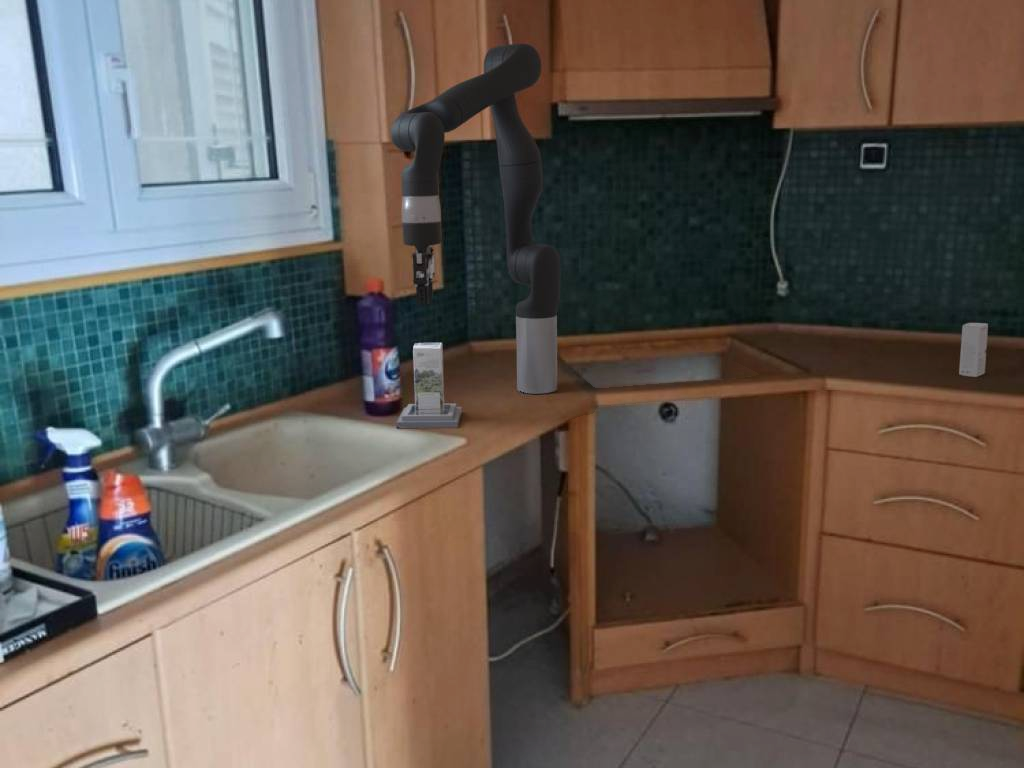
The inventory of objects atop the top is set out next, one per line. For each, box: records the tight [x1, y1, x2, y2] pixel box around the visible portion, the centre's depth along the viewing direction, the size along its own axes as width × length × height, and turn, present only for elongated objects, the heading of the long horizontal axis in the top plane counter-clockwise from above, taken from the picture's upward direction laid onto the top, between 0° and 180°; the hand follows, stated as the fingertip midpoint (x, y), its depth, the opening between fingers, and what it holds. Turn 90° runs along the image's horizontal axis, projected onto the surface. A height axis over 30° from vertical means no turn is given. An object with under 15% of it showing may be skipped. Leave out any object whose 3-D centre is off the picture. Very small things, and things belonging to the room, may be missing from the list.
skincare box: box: [958, 322, 989, 378], centre depth 222 cm, size 6×4×12 cm
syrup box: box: [412, 342, 445, 415], centre depth 188 cm, size 6×6×14 cm
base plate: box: [395, 402, 463, 429], centre depth 190 cm, size 12×12×2 cm
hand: (425, 302), depth 185 cm, fingers open, 8 cm apart
